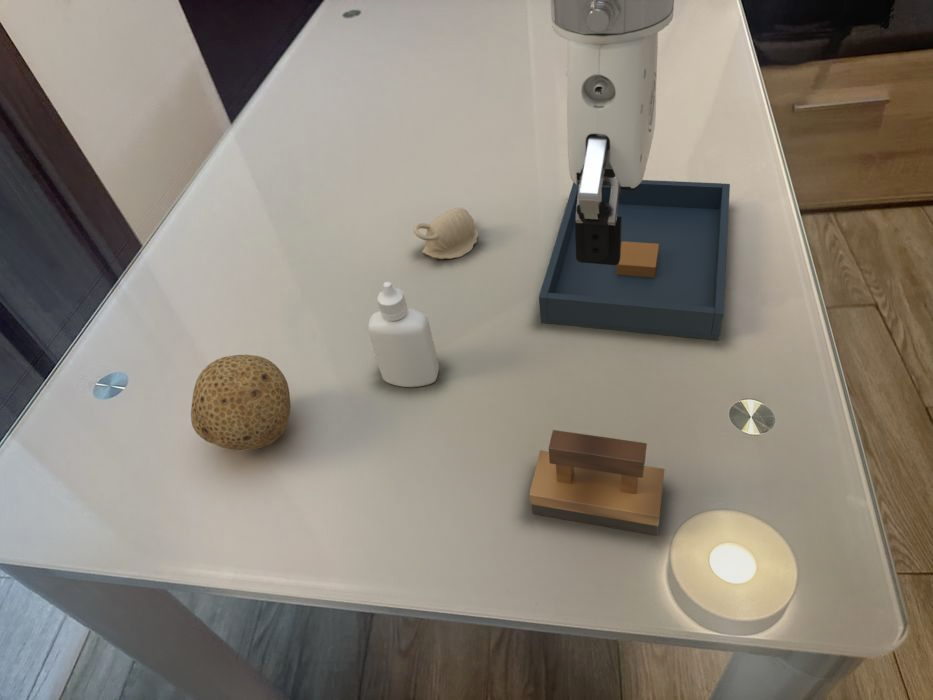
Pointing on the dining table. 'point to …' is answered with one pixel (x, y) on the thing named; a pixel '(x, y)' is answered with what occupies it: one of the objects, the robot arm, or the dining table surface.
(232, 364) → the natural sponge
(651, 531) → the brush
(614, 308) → the tray
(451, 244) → the decorative ornament
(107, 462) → the dining table surface
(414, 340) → the eye dropper bottle
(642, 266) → the tan flat square block
